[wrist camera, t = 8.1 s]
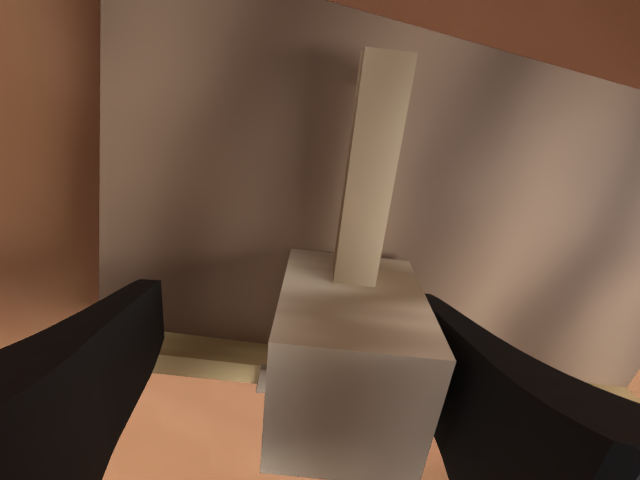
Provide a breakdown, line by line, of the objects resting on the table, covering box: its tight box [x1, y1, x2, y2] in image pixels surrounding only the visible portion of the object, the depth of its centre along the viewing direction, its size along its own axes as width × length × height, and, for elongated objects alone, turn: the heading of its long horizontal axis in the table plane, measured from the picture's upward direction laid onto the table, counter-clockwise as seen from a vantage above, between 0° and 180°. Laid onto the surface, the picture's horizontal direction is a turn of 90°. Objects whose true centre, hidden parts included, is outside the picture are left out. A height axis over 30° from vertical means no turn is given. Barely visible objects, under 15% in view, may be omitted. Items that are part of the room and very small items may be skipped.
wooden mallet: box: [260, 47, 456, 480], centre depth 10 cm, size 4×10×5 cm, turn 174°
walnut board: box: [99, 0, 640, 403], centre depth 13 cm, size 22×12×4 cm, turn 77°
